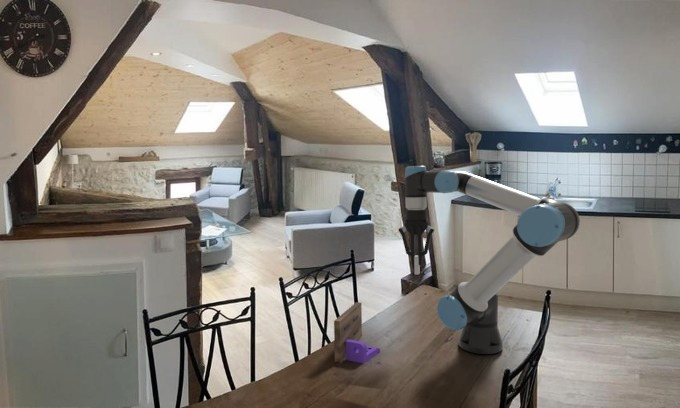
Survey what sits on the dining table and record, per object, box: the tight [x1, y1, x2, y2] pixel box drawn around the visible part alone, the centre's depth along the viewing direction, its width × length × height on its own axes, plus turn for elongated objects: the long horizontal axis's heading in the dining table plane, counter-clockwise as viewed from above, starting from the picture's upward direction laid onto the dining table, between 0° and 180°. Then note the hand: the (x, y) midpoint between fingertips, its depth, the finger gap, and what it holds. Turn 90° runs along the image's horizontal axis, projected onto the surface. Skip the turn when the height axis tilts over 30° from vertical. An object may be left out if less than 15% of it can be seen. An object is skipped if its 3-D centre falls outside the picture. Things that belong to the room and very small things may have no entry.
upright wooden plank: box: [333, 301, 363, 363], centre depth 177 cm, size 2×24×14 cm, turn 160°
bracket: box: [345, 339, 381, 365], centre depth 171 cm, size 12×7×7 cm, turn 148°
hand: (417, 273), depth 180 cm, fingers closed
